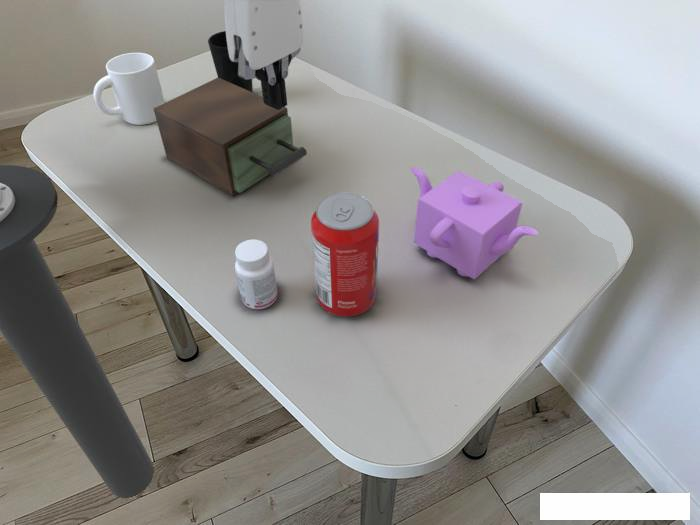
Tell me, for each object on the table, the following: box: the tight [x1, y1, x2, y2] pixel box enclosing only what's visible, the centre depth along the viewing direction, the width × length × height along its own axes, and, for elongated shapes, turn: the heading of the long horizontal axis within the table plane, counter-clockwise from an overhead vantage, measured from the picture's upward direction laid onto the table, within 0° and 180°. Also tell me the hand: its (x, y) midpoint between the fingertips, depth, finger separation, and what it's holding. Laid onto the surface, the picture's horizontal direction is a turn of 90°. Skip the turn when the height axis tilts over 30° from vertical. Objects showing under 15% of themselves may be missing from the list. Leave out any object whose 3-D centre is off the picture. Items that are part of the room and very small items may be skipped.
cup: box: [207, 30, 254, 93], centre depth 109 cm, size 8×8×12 cm
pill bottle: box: [234, 239, 279, 310], centre depth 73 cm, size 5×5×8 cm
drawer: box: [227, 115, 308, 194], centre depth 93 cm, size 21×12×8 cm, turn 51°
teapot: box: [410, 166, 539, 280], centre depth 78 cm, size 15×13×11 cm
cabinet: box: [154, 77, 289, 197], centre depth 95 cm, size 17×14×10 cm
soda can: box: [310, 191, 380, 317], centre depth 70 cm, size 8×8×15 cm
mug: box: [93, 52, 166, 126], centre depth 105 cm, size 12×8×10 cm
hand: (275, 104), depth 82 cm, fingers closed
